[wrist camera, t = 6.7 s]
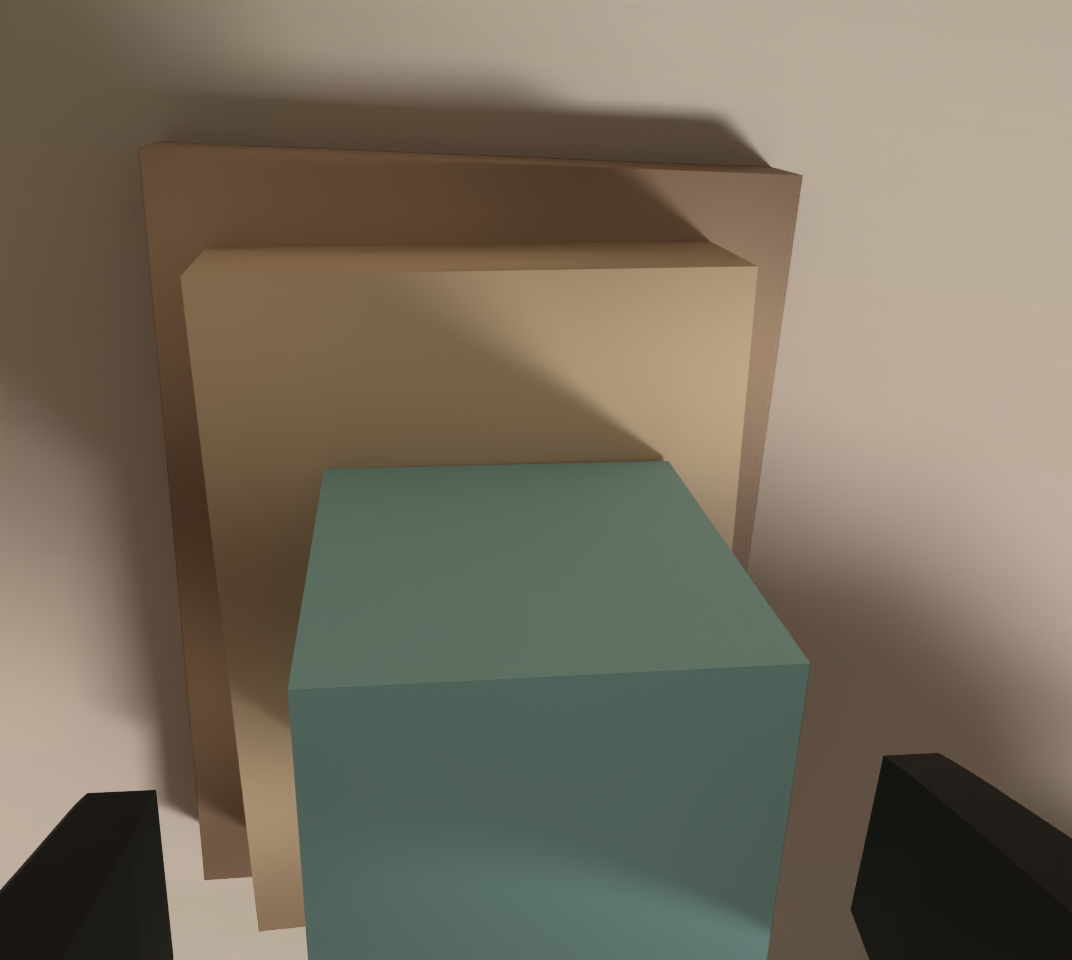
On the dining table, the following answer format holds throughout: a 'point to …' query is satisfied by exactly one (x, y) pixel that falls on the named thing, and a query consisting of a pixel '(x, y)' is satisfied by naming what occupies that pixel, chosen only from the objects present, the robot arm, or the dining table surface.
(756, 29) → the dining table surface
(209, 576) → the bottom slab
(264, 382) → the top slab
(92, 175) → the dining table surface
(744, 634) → the teal block
